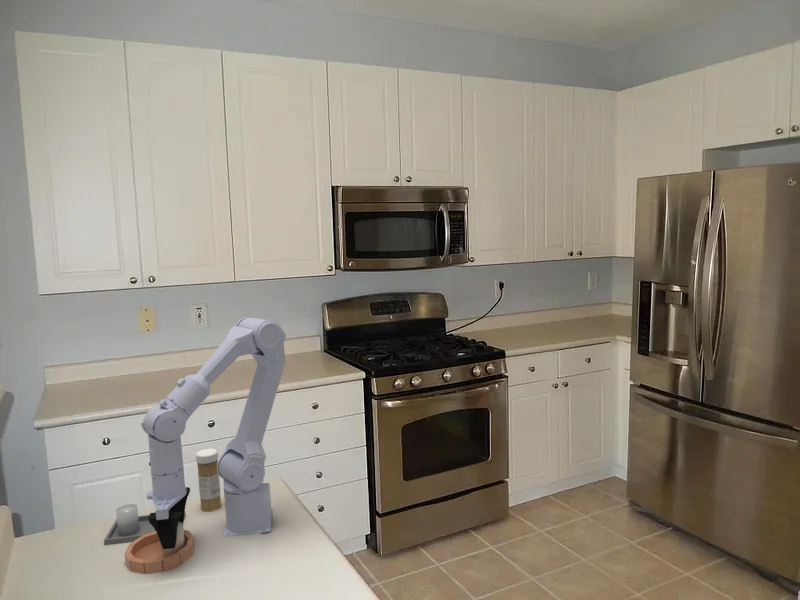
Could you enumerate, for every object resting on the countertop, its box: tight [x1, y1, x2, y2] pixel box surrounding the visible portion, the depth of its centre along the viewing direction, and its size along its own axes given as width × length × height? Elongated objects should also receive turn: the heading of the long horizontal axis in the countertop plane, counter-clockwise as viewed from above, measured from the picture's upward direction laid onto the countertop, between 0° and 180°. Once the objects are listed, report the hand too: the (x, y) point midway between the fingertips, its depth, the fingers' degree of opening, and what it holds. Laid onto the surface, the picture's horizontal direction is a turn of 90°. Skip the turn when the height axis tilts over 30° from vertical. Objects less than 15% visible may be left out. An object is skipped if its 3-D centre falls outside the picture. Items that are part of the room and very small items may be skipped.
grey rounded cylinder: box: [115, 503, 139, 536], centre depth 122 cm, size 4×4×5 cm
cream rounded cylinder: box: [162, 522, 185, 557], centre depth 113 cm, size 4×4×5 cm
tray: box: [103, 512, 187, 546], centre depth 123 cm, size 14×9×2 cm, turn 101°
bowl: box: [124, 529, 196, 575], centre depth 113 cm, size 12×12×2 cm
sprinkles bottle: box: [195, 448, 223, 513], centre depth 131 cm, size 5×5×14 cm
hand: (173, 537), depth 113 cm, fingers open, 7 cm apart
